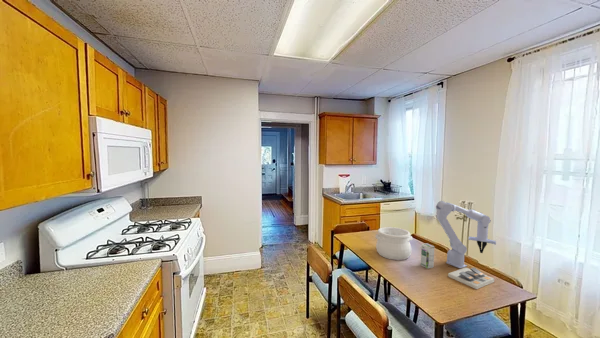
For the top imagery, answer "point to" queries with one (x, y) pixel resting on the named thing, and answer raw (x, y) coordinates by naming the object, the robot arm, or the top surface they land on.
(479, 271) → the rocker
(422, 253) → the syrup box
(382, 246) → the pot
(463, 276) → the rocker
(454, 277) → the switch panel
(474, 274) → the rocker
